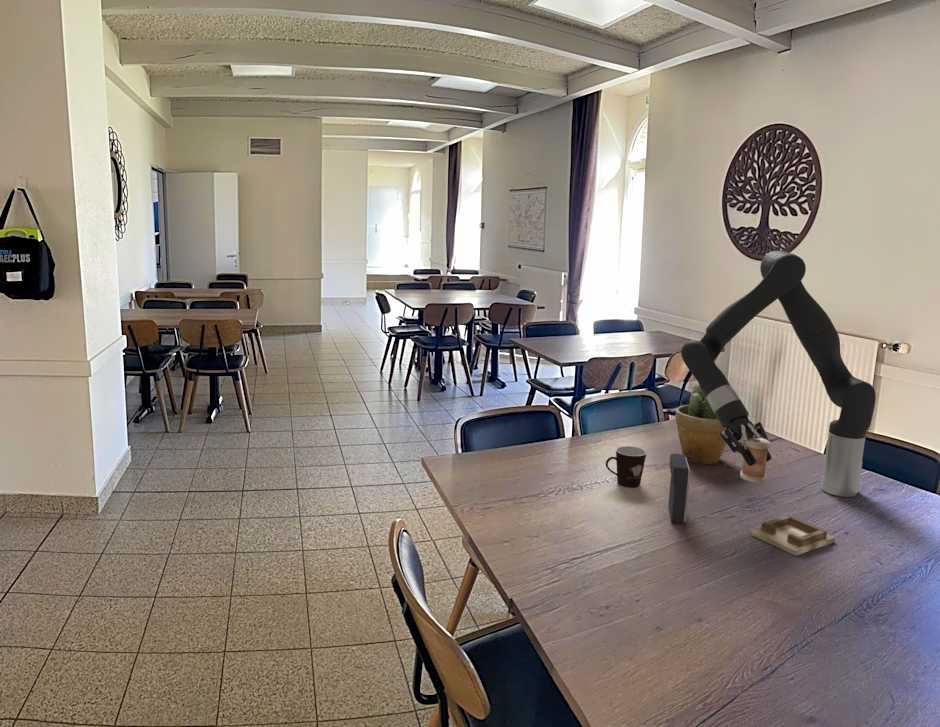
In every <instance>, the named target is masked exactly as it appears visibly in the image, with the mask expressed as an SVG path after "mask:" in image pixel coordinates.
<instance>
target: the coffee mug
mask: <svg viewBox="0 0 940 727" xmlns="http://www.w3.org/2000/svg"><path fill="white" fill-rule="evenodd" d="M646 457H647V451H646V450H645V449H643V448H641V447H638V446H633V445H631V446H630V445H623V446H618V447H616V449H615V456H611V457H608V458H607V459H606V462H605V467H606V469H607V470H608V471H609V472H610V473H612V474H613V475H615V476H616V477H617V478H616V480H617V482H616V484H617V485H619V486H620V487H623V488H625V489H626V488H627V489H636V488H638V487H640V486H641V483H642V482H641V481H642V477H643V472H644V468H645V467H644V466H645V463H646ZM611 460H615V461H616V462H615V463H616V471H614V470H612V469H611V468H610V467H609V463H610V462H609V461H611Z"/></svg>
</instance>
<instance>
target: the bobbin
mask: <svg viewBox="0 0 940 727" xmlns="http://www.w3.org/2000/svg"><path fill="white" fill-rule="evenodd" d="M768 440H769V439H768ZM768 440H766V439H763V437H761V438H756V437H755V436H753V437H751V438H747V441H745V444H746V446H747V447H748V449H747V450H750V452H751V453H752V455H753V456H754V458H755V460H756V463H755V464H754V465H752V466H749V465H748V464H747V463H746V461H745V459H744V458H743V462H742V469H741V470H740V475H739V477H740V479H742V480H745V481H748V482H750V483H751V482H752V483H763V482H766V481H767V474H766V467H767V462H766V459H767V450H768V449H770V447H771V446H770V445H771V442H770V440H769V441H768ZM768 451H769V450H768Z"/></svg>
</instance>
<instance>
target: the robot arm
mask: <svg viewBox="0 0 940 727" xmlns="http://www.w3.org/2000/svg"><path fill="white" fill-rule="evenodd" d="M759 268H760V269H759V270H760V273H761V277H762V280H761V281H760V282H759V283H758V284H757V285H756V286H755V287H753V289H752V290H750V291H749V292H747V294H745V295H744V296H742V297H740V298H739V299H737V300H736V301H734V302H733V303H731V304H730V305H728V306H727V307H726V308H725V309H723V310H722V311H721V312H720V313H719V314H718V315H717V316H716V317H715V318H714V319H713V320H712V321H711V322H710V323H709V325H707V327H706V329H705V334H704V335H703V336H702V337H701V339H700V340H695V339H692V340H689V341H686V342H685V343H684V344H683V345H682V347H681V350H680V356H681V360H682V361H683V363H684V364H685V366H686V367H687V368H688V370H689V372H690V373H691V375H693V377H694V378H695V379H696V381H697V383H699V385H700V387H701V389H702V391H703V393H704V394H705V396H706V398H707V400H708V402H709V404H710V406H711V408H712V410H713V412H714V413H715V415H716V417H717V418H718V420H719V422H720V424H721V425H722V427H724V428H726V430H724V431H723V432H722V433H720V435H721V437H722V438H723V439H724V441H725V442H726V445H727V446H728V447H729V449H730V450H731V451H732V453H734V454H736V453H739V454H740V455H741V456H742V458H743V460H744V459H745V461H746V463H747V464H748V465H749V466H752V465H754V464H755V463H756V460H755V458H754V456H753V455H752V453H751V452H750V450H747V449H748V447H747V446H746V444H745V441H747V438H751V437H756V438H763V439H766V440H768V441H770V439H769V437H768V435H767V433H766V430H765V428H764V426H763V424H762V423H761V422H760V421H758V422H757V423H753V422H752V421H751V420H750V419H749V415H750V413H749V411H748V410H747V408H746V406H745V405H744V402H743V401H742V399H741V398H740V396H739V395H738V393H737V392H736V390H735V389H734V388H733V387H732V385H731V384H730V382H729V381H728V379H727V377H726V375H725V374H724V372H723V371H722V370H721V369H720V368H719V367H718V365H717V364H716V363H715V360H716V359H717V358H718V356H719V355H720V354H721V352H722V351H723V349H724V348H725V346H726V345H727V344H728V343H730V341H731V340H733V338H734V337H736V336H737V334H739V332H741V330H742V329H744V328H745V327H746V326H747V325H748V324H749V323H750V322H751V321H752V320H753V319H754V318H755V317H756V316H757V315H759V314H760V313H761V312H763V311H764V310H765V309H766V308H768V307H769V306H770V305H772V304H773V303H774V302H775V301H777V300H778V301H779V303H780V304H781V307H782V308H783V311H784V313H785V314H786V317H787V319H788V321H789V323H790V324H791V326H792V328H793V330H794V332H795V334H796V336H797V338H798V340H799V342H800V344H801V345H802V347H803V348H804V349H803V350H805V352H806V353H807V355H808V356H809V359H810V361H811V362H812V364H813V366H814V367H815V368H816V371H817V372H818V374H819V376H820V379H821V381H822V384H823V386H824V389H825V391H826V393H827V396H828V398H829V400H830V401H831V402H832V403H833V405H835V406H837V407H839V408H840V414H839V417H838V419H835V420H834V419H833V420H832V421H830V423H829V425H828V426H829V427H828V433H827V434H828V435H827V439H826V440H827V441H826V450H825V456H824V462H823V468H822V469H823V471H822V476H821V477H822V478H821V484H820V489H821V490H822V491H824V493H827V494H830V495H834V496H837V497H842V498H843V497H845V498H851V497H856V496H857V494H858V492H859V489H860V488H859V487H860V481H861V474H862V469H863V468H862V467H863V455H864V448H865V442H866V436H867V432H868V431H869V429H870V427H871V424H872V420H873V416H874V415H873V414H874V411H875V406H876V399H877V395H876V390H875V388H874V387H873V385H872V384H871V383H869V382H867V381H864V380H862V379H859V378H857V377H855V376H854V375H853V374H852V373H851V372H850V370H849V369H848V368H847V366H846V364H845V363H844V360H843V358H842V354H841V341H840V336H839V333H838V330H837V329H836V327H835V325H834V324H833V322H832V320H831V318H830V317H829V315H828V314H827V312H826V311H825V310H824V309H823V307H822V306H821V305H820V304H819V303H818V302H817V301H816V299H815V298H814V297H813V296H812V295H811V294H810V292H808V291H807V289H806V287H805V285H804V284H803V282H802V280H803V278H805V274H806V268H807V267H806V263H805V261H804V260H803V258H802V257H800V256H798V255H796V254H794V253H791V252H788V251H784V250H773V251H769V252H768V253H767V254H765V255H764V257H763V258H762V260H761V262H760V267H759ZM772 459H773V458H772V455H771V453H770V452H769V450H767V459H766V463H769V462H770V461H771V460H772Z"/></svg>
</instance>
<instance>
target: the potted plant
mask: <svg viewBox="0 0 940 727" xmlns="http://www.w3.org/2000/svg"><path fill="white" fill-rule="evenodd" d="M691 389H692V391H691V394H690V398H689V401H688V402H689V403H688V404H685V405H684V404H682V405H679V406H678V407H675V409H674V410H675V423H676V425H677V433H678V439H679V443H680V447H681V452H682V455H685V457H686V459H687V461H688V462H691V461H692V463H694V462H696V463H695V464H700V463H702V465H712V464H713V463H714V464H716V463H718V462H719V461H720V460H721V457H722V456H723V453H724V451H725V448H726V445H727V443H726V442H725V441H724V439H723V438H722V437H721V435H720V433H722V432H723V431H724V430H726V428H724V427H722V425H721V424H720V422H719V420H718V418H717V417H716V415H715V413H714V412H713V410H712V408H711V406H710V404H709V402H708V400H707V398H706V396H705V394H704V393H703V391H702V389H701V387H700V385H699V383H698V382H696V383H694V384H693V386H691Z"/></svg>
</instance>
